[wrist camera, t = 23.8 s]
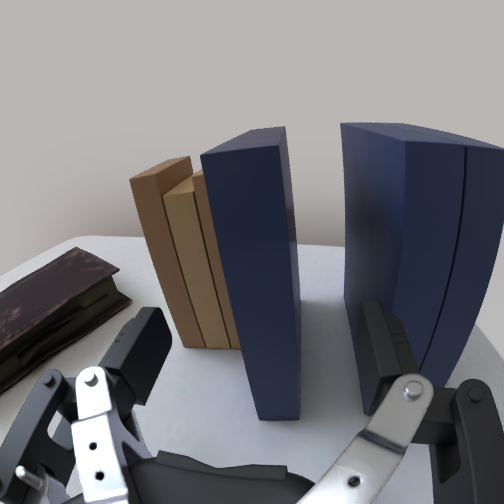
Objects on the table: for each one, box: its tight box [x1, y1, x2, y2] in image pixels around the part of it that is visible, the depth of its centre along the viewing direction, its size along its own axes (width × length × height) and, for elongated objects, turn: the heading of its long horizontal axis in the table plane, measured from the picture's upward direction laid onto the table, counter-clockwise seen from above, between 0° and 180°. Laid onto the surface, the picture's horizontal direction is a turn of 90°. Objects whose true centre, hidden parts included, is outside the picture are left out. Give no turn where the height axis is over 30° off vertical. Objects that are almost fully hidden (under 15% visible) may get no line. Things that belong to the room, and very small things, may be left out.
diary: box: [0, 247, 132, 392], centre depth 28 cm, size 19×25×5 cm
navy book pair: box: [340, 123, 504, 414], centre depth 18 cm, size 6×14×17 cm, turn 172°
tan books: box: [129, 156, 241, 349], centre depth 24 cm, size 7×7×16 cm
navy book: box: [200, 126, 301, 420], centre depth 19 cm, size 3×14×17 cm, turn 172°
